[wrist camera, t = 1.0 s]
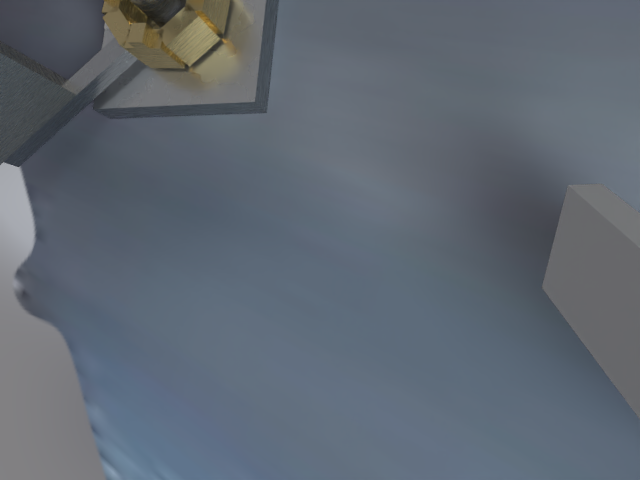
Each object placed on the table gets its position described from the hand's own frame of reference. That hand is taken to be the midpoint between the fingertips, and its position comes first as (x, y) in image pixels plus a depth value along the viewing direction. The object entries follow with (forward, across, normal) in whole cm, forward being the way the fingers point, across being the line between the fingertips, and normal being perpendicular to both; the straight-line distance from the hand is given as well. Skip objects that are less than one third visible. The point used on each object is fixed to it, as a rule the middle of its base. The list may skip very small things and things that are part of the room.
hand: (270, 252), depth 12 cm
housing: (+35, -6, -1) cm, 35 cm away
